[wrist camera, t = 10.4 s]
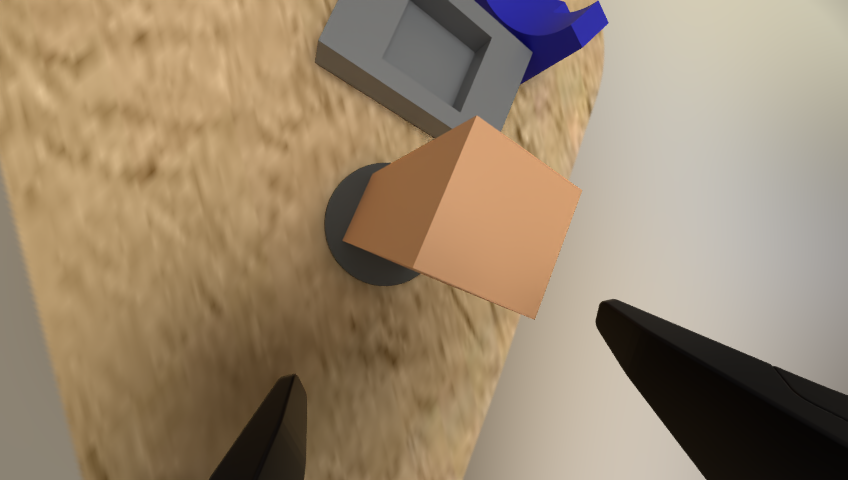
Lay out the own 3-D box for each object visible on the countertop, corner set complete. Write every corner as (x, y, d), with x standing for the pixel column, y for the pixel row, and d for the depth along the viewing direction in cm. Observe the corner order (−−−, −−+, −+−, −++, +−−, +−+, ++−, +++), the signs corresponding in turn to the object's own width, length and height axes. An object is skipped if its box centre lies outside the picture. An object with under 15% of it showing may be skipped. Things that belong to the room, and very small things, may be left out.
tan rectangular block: (406, 267, 21) (534, 320, 10) (342, 240, 19) (412, 267, 8) (432, 205, 21) (582, 190, 10) (372, 173, 20) (476, 115, 9)
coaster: (414, 299, 22) (417, 302, 21) (302, 257, 19) (303, 259, 18) (456, 197, 23) (460, 197, 22) (356, 141, 20) (358, 139, 19)
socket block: (471, 161, 23) (491, 154, 21) (315, 62, 19) (318, 40, 16) (509, 68, 24) (532, 52, 22) (368, -48, 19) (379, -84, 17)
